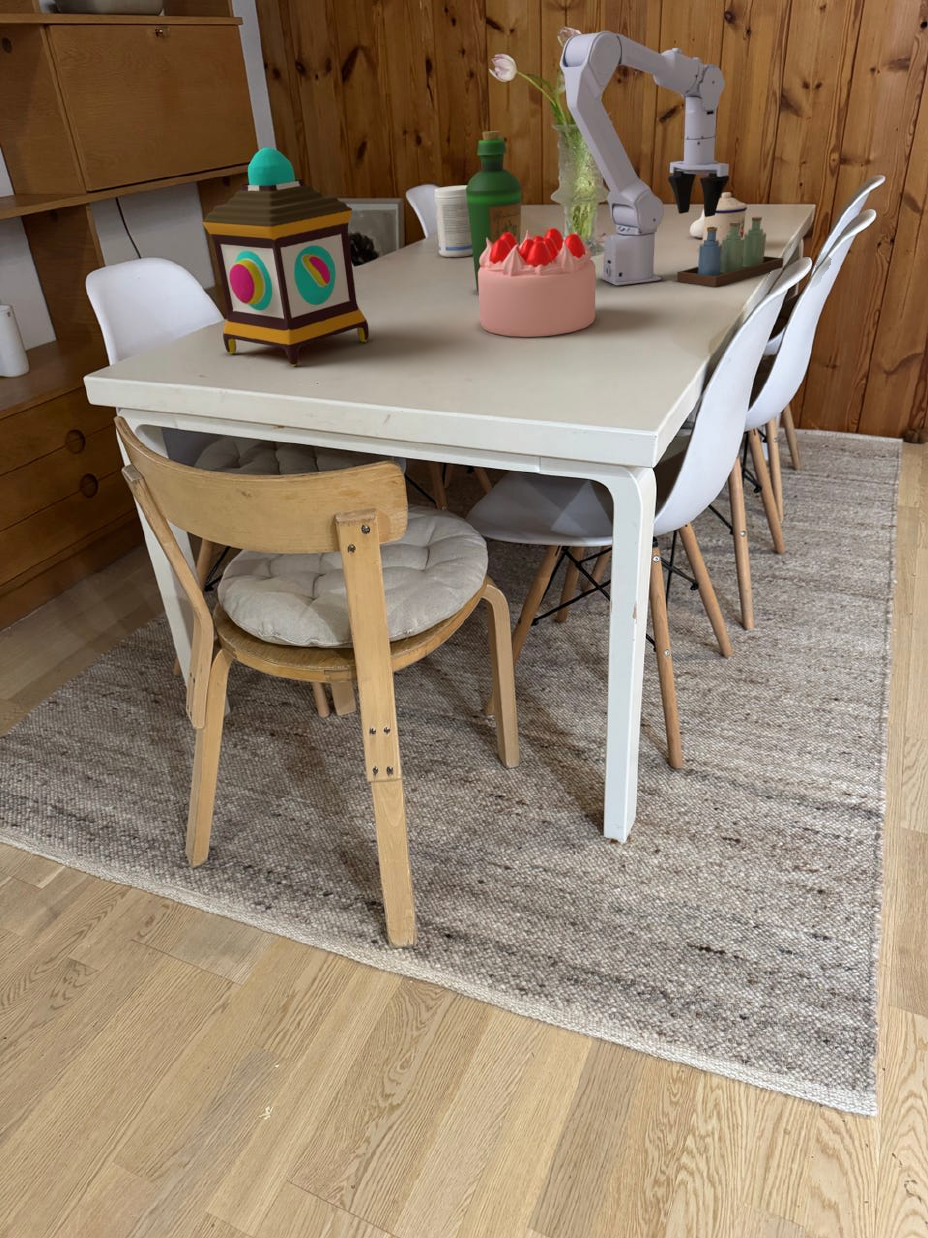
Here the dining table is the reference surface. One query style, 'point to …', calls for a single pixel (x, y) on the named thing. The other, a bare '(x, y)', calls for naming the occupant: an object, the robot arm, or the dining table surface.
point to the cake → (536, 285)
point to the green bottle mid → (732, 250)
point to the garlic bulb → (698, 227)
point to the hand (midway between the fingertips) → (696, 214)
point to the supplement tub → (453, 221)
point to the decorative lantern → (284, 261)
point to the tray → (725, 278)
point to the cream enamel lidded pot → (726, 217)
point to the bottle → (492, 198)
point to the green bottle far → (754, 244)
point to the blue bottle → (710, 254)
